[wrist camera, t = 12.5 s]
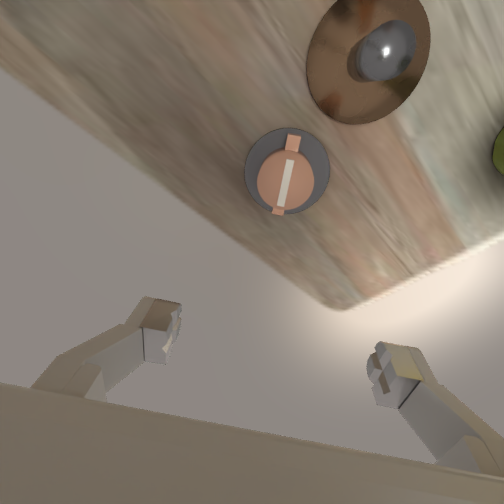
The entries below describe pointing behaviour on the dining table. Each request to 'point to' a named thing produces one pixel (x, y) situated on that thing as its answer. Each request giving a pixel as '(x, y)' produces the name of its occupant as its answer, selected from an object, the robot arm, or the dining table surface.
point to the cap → (286, 177)
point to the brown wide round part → (367, 57)
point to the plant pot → (499, 152)
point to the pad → (306, 146)
